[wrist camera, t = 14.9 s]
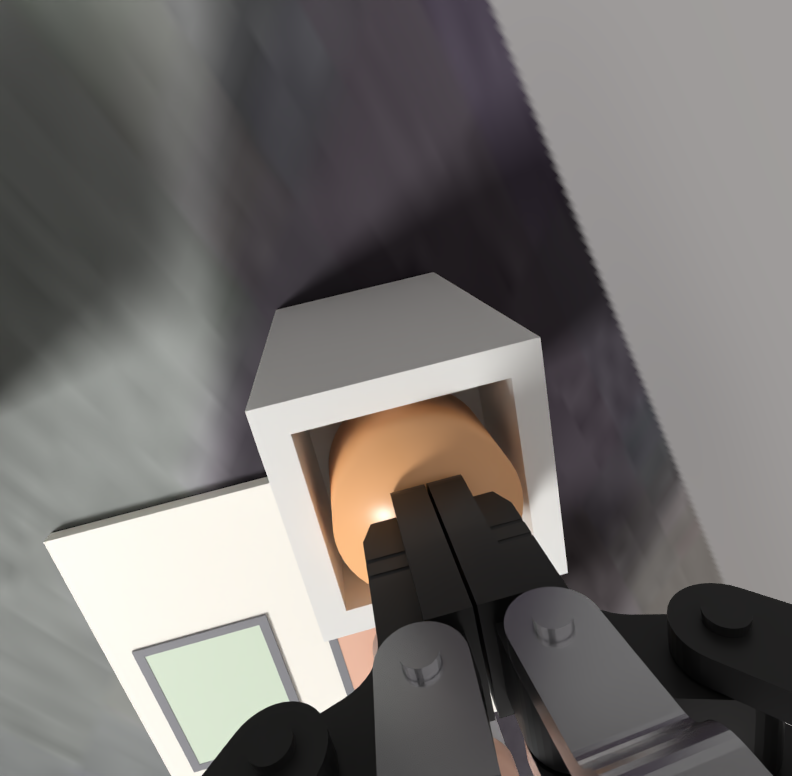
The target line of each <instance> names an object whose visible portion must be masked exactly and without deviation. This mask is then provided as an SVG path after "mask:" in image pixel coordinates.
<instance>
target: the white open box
mask: <svg viewBox="0 0 792 776" xmlns="http://www.w3.org/2000/svg"><path fill="white" fill-rule="evenodd" d="M446 394H451V395H453V396H455V397H456V398H458V399H459V400H461V401H462V402H463V403H465V404H466V405H467V406H468V407H469V408H470V409H471V410H472V412H473V413H474V414H475V415H476V417H477V418H478V419H479V421H480V422H481V423H482V425H483V426H484V427H485V429H486V430H487V431H488V433H489V434H490V435H491V437H492V438H493V439H494V440H495V442H496V443H497V444H498V446H499V447H500V448H501V450H502V451H503V452H504V454H505V455H506V456H507V458H508V459H509V460H510V462H511V463H512V465H513V467H514V468H515V470H516V472H517V474H518V477H519V479H520V482H521V487H522V491H523V514H522V520H523V522H525V523H526V525H527V526H528V528H529V529H530V531H531V534H532V535H533V536H534V537H535V539H536V540H537V542H538V543H539V545H540V546H541V548H542V549H543V551H544V552H545V554H546V555H547V557H548V558H549V560H550V561H551V563H552V564H553V566H554V567H555V569H556V570H557V572H558V573H559V575H562V574H566V573H568V570H567V561H566V552H565V544H564V535H563V527H562V518H561V510H560V501H559V492H558V484H557V475H556V467H555V458H554V450H553V441H552V433H551V424H550V415H549V407H548V398H547V390H546V381H545V373H544V364H543V355H542V347H541V338H540V337H539V336H538V335H536V334H534V333H533V332H531V331H529V330H528V329H526V328H525V327H523V326H521V325H520V324H518V323H516V322H515V321H513V320H511V319H510V318H508V317H506V316H505V315H503V314H502V313H500V312H498V311H497V310H495V309H493V308H492V307H490V306H488V305H487V304H485V303H483V302H482V301H480V300H479V299H477V298H475V297H474V296H472V295H470V294H469V293H467V292H465V291H464V290H462V289H460V288H459V287H457V286H456V285H454V284H452V283H451V282H449V281H447V280H446V279H444V278H442V277H441V276H439V275H437V274H436V273H434V272H432V273H428V274H423V275H419V276H415V277H411V278H407V279H403V280H398V281H394V282H390V283H386V284H382V285H378V286H373V287H369V288H365V289H361V290H357V291H353V292H348V293H344V294H340V295H336V296H332V297H328V298H323V299H319V300H315V301H311V302H307V303H303V304H299V305H294V306H290V307H286V308H282V309H278V310H276V312H275V315H274V318H273V322H272V325H271V328H270V331H269V335H268V338H267V341H266V345H265V348H264V351H263V354H262V358H261V361H260V364H259V368H258V371H257V374H256V377H255V381H254V384H253V387H252V391H251V394H250V397H249V400H248V404H247V407H246V410H245V413H246V416H247V419H248V422H249V424H250V427H251V430H252V433H253V436H254V439H255V442H256V445H257V448H258V451H259V454H260V456H261V459H262V462H263V465H264V468H265V471H266V474H267V477H268V480H269V483H270V486H271V488H272V491H273V494H274V497H275V500H276V503H277V506H278V509H279V512H280V515H281V518H282V520H283V523H284V526H285V529H286V532H287V535H288V538H289V541H290V544H291V547H292V550H293V552H294V555H295V558H296V561H297V564H298V567H299V570H300V573H301V576H302V579H303V582H304V585H305V587H306V590H307V593H308V596H309V599H310V602H311V605H312V608H313V611H314V614H315V617H316V619H317V622H318V625H319V628H320V631H321V634H322V637H323V640H324V642H327V641H330V640H334V639H337V638H341V637H344V636H348V635H351V634H355V633H358V632H362V631H365V630H369V629H372V628H375V621H374V614H373V607H372V601H371V594H370V587H369V584H368V583H366V582H365V581H363V580H362V579H360V578H359V577H358V576H357V575H356V574H355V573H354V572H353V571H352V570H351V569H350V568H349V567H348V566H347V564H346V563H345V562H344V560H343V558H342V557H341V555H340V553H339V551H338V548H337V546H336V543H335V539H334V534H333V523H332V508H331V494H330V479H329V453H330V448H331V444H332V441H333V439H334V436H335V434H336V432H337V430H338V428H339V427H340V425H341V424H342V422H343V421H345V420H349V419H353V418H357V417H361V416H364V415H368V414H372V413H376V412H380V411H384V410H388V409H392V408H396V407H400V406H403V405H407V404H411V403H415V402H419V401H423V400H427V399H431V398H435V397H438V396H442V395H446Z"/></svg>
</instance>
